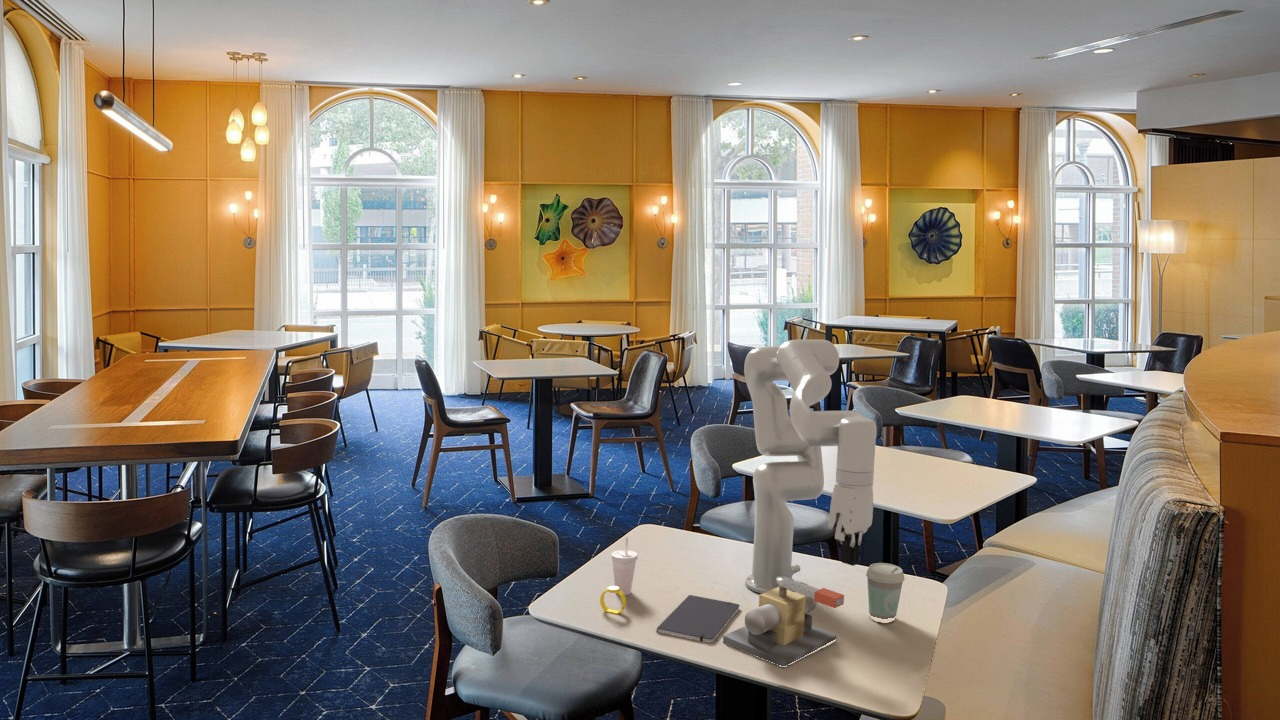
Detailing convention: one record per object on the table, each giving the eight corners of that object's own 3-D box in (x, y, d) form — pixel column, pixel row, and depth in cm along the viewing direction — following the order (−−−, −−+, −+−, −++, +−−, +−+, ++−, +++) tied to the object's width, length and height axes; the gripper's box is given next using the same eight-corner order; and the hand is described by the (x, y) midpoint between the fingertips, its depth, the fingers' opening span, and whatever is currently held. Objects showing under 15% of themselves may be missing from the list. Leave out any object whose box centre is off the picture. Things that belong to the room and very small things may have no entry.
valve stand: (776, 618, 213) (779, 566, 212) (836, 641, 202) (839, 586, 200) (723, 642, 200) (725, 586, 198) (783, 668, 189) (787, 609, 187)
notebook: (689, 600, 223) (656, 634, 204) (689, 594, 223) (656, 627, 204) (740, 610, 219) (711, 646, 199) (740, 604, 218) (712, 639, 199)
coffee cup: (880, 628, 210) (884, 577, 208) (855, 614, 217) (858, 564, 216) (909, 622, 214) (913, 572, 212) (883, 608, 221) (887, 560, 220)
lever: (772, 586, 199) (773, 577, 199) (781, 582, 202) (782, 573, 201) (834, 608, 188) (835, 598, 188) (843, 604, 191) (844, 595, 190)
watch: (599, 613, 214) (598, 588, 213) (604, 609, 216) (603, 584, 216) (623, 616, 211) (622, 591, 211) (627, 612, 214) (627, 586, 213)
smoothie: (625, 599, 221) (627, 542, 219) (604, 592, 225) (606, 536, 223) (641, 592, 226) (643, 536, 224) (620, 585, 230) (622, 530, 228)
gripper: (858, 468, 200) (853, 551, 202) (818, 479, 190) (814, 566, 192) (889, 475, 195) (884, 560, 197) (850, 486, 185) (845, 576, 187)
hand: (849, 563), depth 195 cm, fingers closed
